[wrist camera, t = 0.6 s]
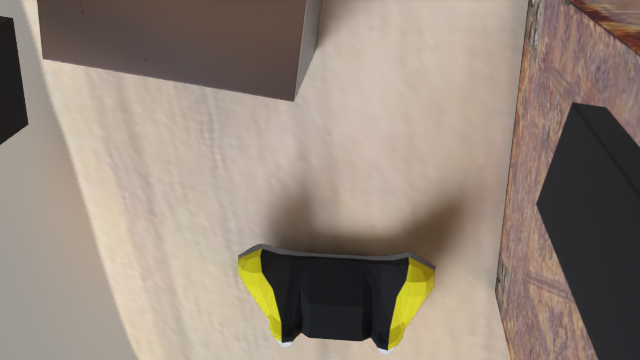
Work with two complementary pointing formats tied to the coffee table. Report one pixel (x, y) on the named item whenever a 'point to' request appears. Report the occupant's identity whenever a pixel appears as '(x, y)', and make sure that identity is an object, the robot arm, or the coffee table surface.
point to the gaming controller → (336, 293)
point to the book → (538, 149)
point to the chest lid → (182, 40)
